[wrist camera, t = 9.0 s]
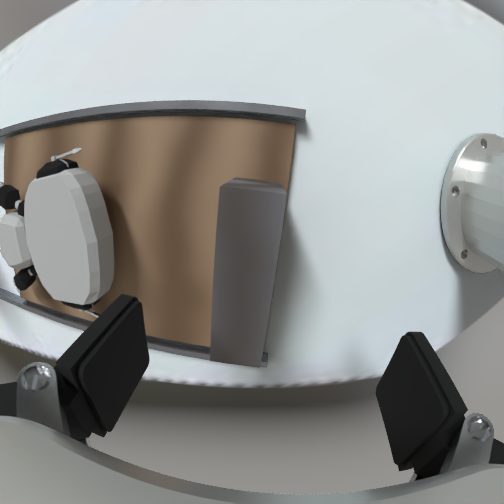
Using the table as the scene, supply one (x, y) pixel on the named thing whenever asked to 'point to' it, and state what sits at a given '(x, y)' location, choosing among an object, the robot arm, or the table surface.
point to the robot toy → (59, 234)
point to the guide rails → (144, 107)
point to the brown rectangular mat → (180, 219)
